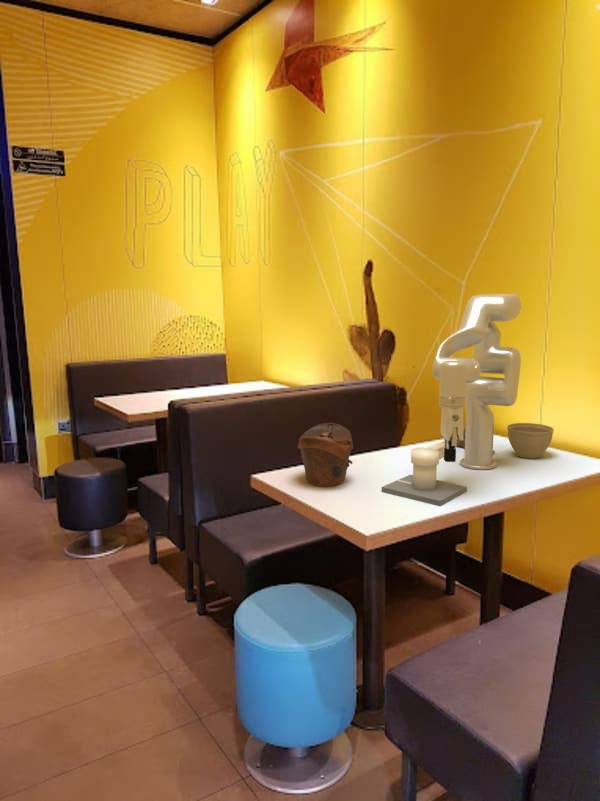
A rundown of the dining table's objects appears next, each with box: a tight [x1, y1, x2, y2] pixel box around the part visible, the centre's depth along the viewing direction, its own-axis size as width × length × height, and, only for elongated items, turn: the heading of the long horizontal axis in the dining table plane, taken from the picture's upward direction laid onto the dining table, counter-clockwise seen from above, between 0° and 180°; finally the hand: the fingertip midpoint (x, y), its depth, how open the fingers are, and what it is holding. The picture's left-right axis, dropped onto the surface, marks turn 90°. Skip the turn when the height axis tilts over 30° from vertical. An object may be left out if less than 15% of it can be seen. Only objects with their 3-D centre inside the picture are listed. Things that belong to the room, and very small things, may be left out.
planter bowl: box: [506, 422, 555, 459], centre depth 222 cm, size 16×16×11 cm
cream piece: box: [410, 441, 445, 466], centre depth 185 cm, size 18×8×4 cm, turn 139°
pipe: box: [457, 424, 466, 448], centre depth 236 cm, size 6×17×10 cm, turn 33°
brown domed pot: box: [297, 422, 354, 487], centre depth 193 cm, size 18×20×18 cm
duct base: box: [381, 463, 468, 507], centre depth 183 cm, size 17×20×9 cm
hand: (449, 461), depth 181 cm, fingers closed
